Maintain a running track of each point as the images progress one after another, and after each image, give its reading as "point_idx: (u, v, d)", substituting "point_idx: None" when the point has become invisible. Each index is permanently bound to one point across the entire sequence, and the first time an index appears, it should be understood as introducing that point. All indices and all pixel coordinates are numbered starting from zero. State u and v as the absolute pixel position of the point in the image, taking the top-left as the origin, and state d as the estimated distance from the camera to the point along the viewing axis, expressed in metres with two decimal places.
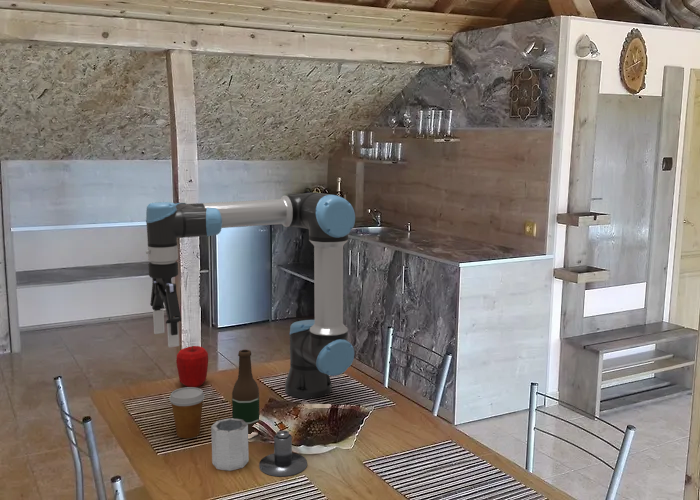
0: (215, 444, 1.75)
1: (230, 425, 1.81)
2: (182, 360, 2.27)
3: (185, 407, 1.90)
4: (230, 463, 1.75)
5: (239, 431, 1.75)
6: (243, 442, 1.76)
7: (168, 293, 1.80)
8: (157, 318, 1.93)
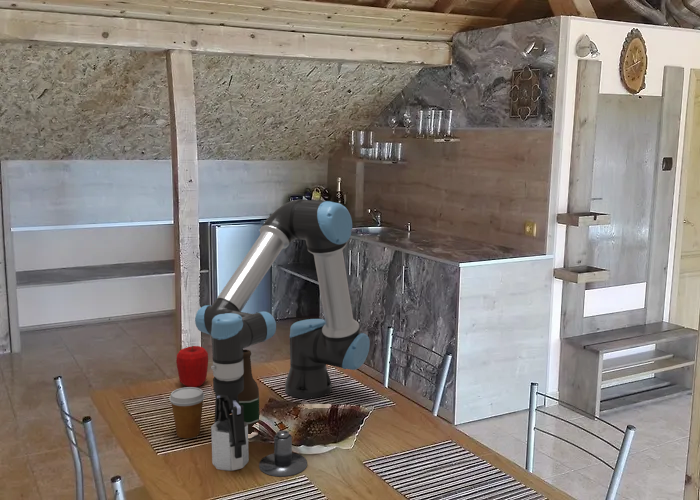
0: (215, 444, 1.75)
1: None
2: (182, 360, 2.27)
3: (185, 407, 1.90)
4: (230, 463, 1.75)
5: None
6: None
7: (235, 416, 1.71)
8: None
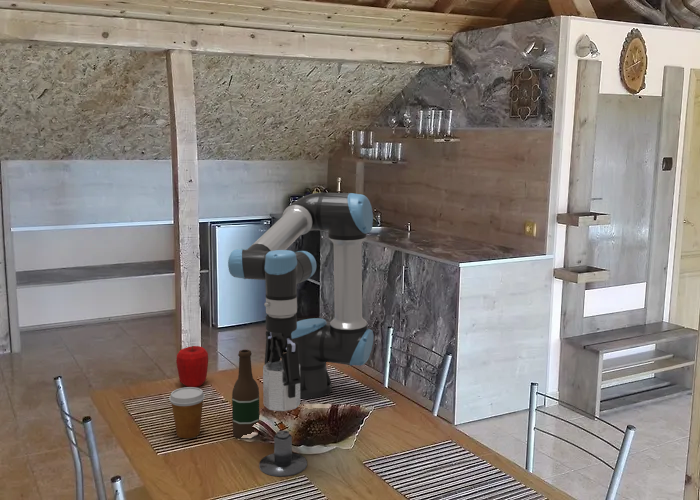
0: (267, 383, 1.71)
1: (281, 367, 1.77)
2: (182, 360, 2.27)
3: (185, 407, 1.90)
4: (283, 403, 1.70)
5: None
6: None
7: (289, 353, 1.67)
8: None
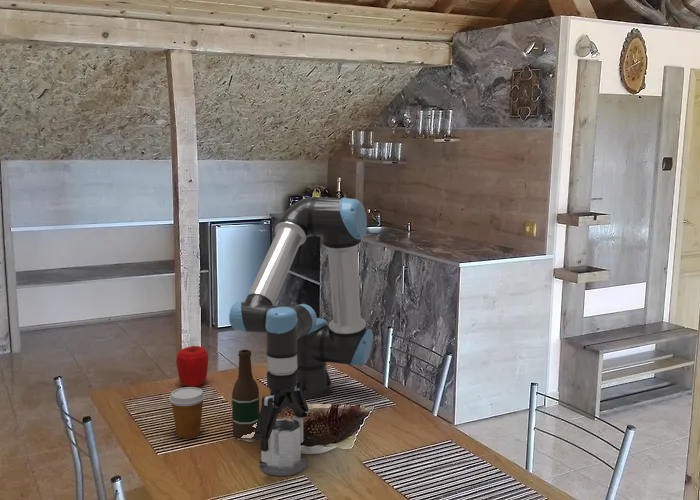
0: None
1: (294, 427, 1.79)
2: (182, 360, 2.27)
3: (185, 407, 1.90)
4: None
5: (276, 433, 1.72)
6: (280, 446, 1.73)
7: (262, 406, 1.69)
8: None
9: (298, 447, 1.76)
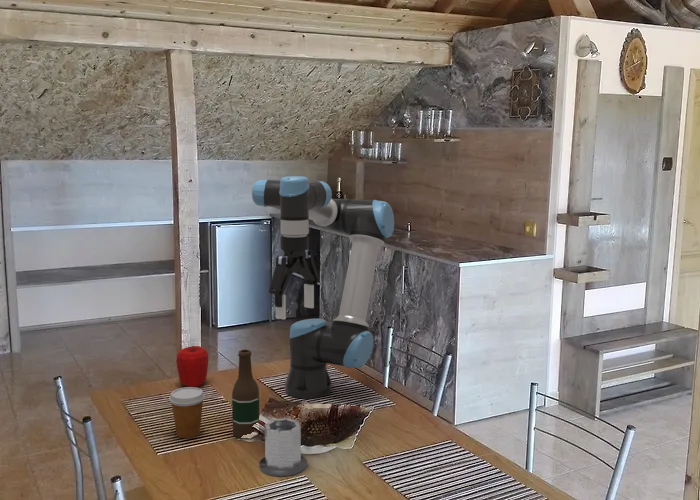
0: None
1: (294, 427, 1.79)
2: (182, 360, 2.27)
3: (184, 407, 1.90)
4: (268, 460, 1.75)
5: (276, 433, 1.72)
6: (280, 446, 1.73)
7: (276, 264, 1.82)
8: (306, 292, 1.95)
9: (298, 447, 1.76)
